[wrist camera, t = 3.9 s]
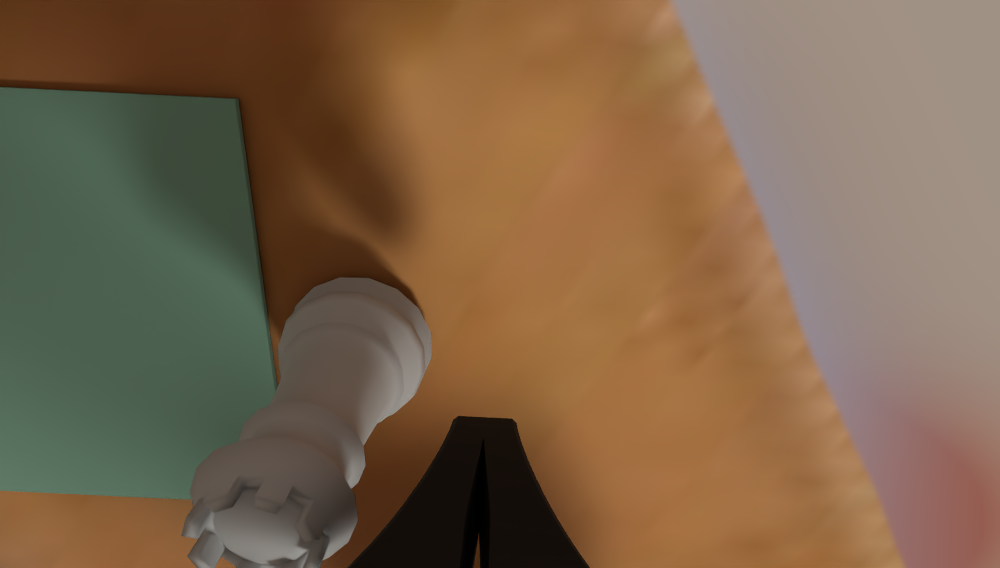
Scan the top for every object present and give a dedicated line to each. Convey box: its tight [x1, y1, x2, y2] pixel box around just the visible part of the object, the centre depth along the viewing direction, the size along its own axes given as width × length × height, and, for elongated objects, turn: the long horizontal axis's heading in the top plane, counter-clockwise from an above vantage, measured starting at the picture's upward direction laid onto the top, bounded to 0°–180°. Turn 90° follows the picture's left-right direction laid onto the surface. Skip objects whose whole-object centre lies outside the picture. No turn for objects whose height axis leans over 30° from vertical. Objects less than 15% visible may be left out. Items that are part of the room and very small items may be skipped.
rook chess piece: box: [182, 277, 432, 568], centre depth 13 cm, size 4×4×8 cm
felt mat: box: [0, 87, 277, 500], centre depth 17 cm, size 14×12×1 cm
